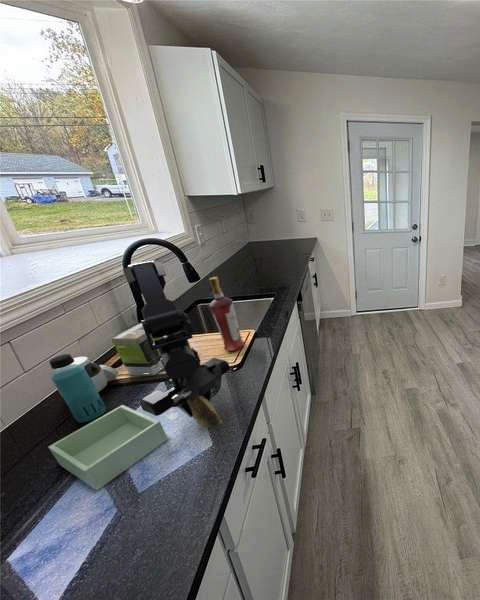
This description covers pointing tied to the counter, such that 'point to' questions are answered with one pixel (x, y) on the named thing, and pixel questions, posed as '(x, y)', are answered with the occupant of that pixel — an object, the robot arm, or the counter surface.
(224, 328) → the liquor
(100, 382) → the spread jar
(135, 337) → the tea box
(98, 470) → the shallow rectangular tray
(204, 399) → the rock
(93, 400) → the beverage bottle
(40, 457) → the counter surface
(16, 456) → the counter surface
